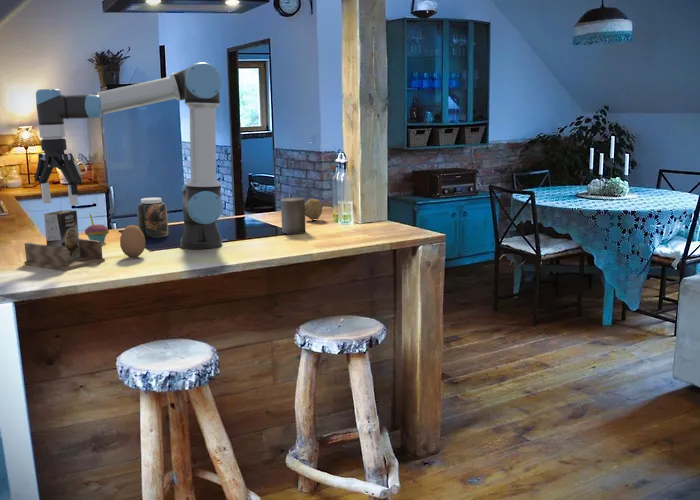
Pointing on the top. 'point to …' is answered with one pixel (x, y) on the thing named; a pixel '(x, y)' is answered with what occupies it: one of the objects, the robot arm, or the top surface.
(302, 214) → the pillar candle
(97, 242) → the walnut rack
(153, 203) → the jar
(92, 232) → the cupcake
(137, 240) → the egg
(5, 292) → the top surface
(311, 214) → the natural sponge
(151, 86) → the robot arm
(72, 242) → the coffee box
